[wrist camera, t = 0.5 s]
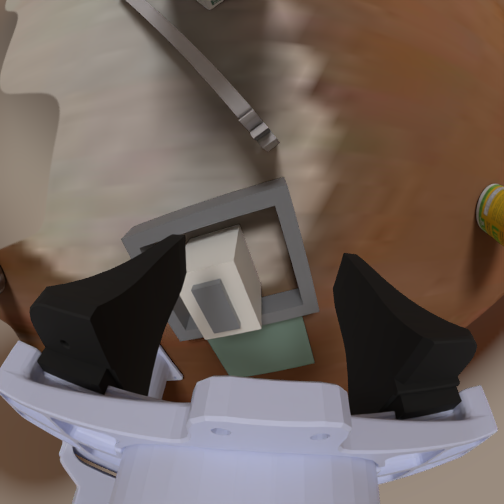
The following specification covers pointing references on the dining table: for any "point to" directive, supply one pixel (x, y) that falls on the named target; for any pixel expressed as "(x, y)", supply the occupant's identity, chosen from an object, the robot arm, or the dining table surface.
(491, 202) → the supplement bottle
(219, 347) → the rubber mat
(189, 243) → the block
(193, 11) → the dining table surface
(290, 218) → the grey square frame
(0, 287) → the sauce bottle
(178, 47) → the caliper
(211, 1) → the syrup box
